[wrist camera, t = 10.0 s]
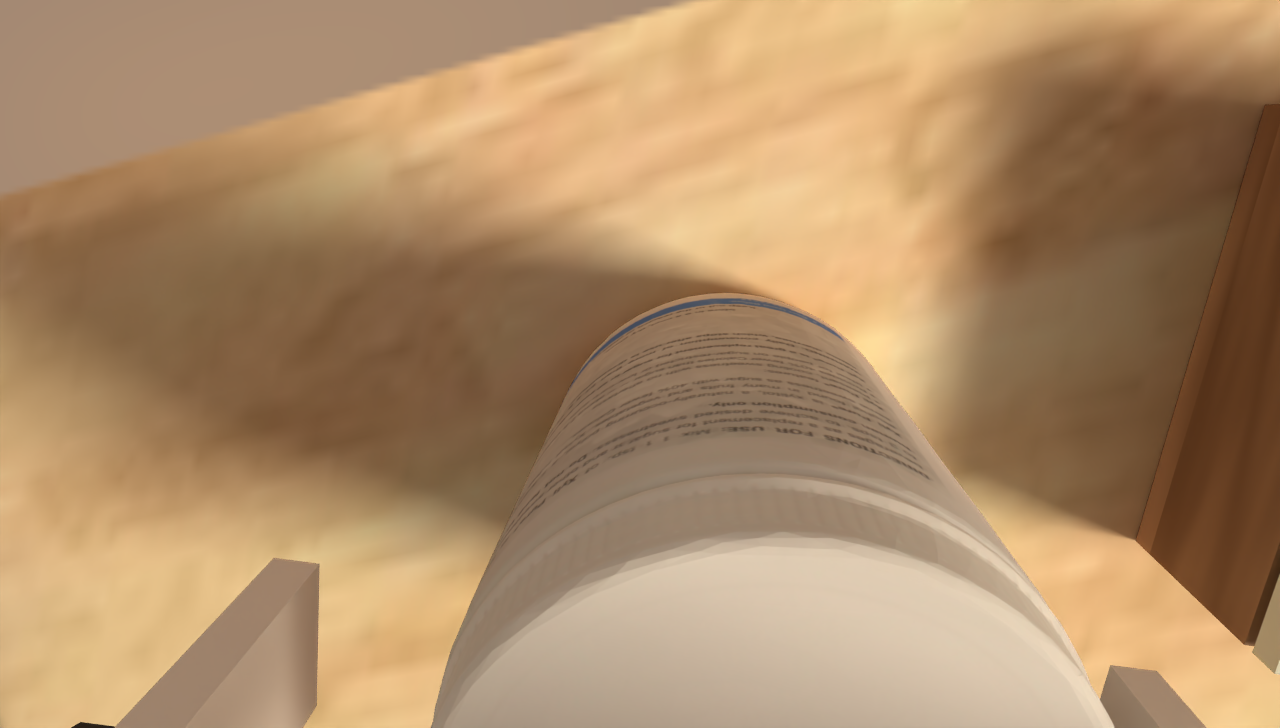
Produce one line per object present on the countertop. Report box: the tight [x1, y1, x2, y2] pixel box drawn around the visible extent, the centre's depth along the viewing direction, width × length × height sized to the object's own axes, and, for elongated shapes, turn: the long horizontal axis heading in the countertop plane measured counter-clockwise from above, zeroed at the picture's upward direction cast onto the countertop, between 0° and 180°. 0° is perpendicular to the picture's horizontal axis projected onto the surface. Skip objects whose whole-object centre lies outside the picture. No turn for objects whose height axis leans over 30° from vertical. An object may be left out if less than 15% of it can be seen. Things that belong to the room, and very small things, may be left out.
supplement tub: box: [431, 293, 1114, 728], centre depth 18 cm, size 10×10×15 cm
